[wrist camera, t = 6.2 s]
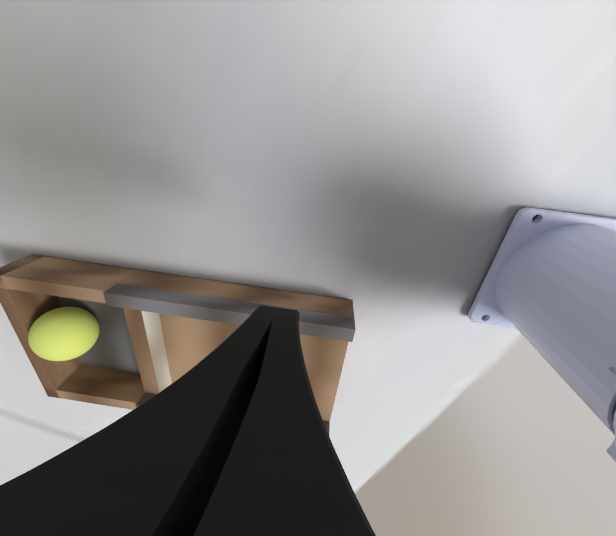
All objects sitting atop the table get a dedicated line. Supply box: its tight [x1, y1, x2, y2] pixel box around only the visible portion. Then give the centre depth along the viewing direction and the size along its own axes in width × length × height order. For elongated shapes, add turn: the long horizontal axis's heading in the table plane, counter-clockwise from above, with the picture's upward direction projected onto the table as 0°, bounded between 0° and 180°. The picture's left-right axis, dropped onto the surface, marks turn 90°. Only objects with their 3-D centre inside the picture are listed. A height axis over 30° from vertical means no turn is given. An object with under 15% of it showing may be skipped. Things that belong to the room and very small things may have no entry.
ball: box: [28, 307, 99, 361], centre depth 20 cm, size 4×4×4 cm
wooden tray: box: [0, 255, 355, 435], centre depth 21 cm, size 24×12×3 cm, turn 84°
